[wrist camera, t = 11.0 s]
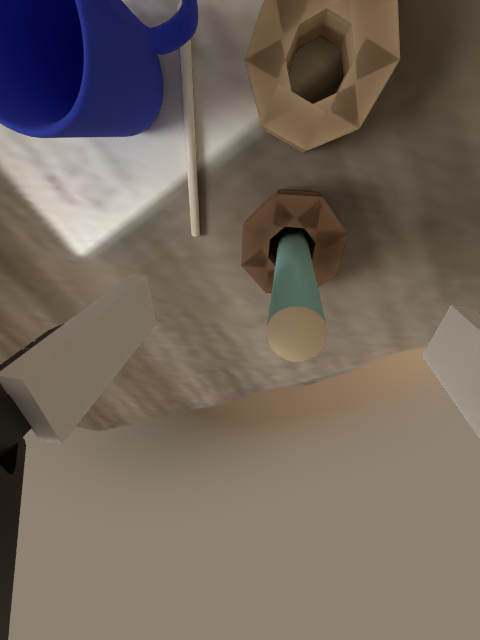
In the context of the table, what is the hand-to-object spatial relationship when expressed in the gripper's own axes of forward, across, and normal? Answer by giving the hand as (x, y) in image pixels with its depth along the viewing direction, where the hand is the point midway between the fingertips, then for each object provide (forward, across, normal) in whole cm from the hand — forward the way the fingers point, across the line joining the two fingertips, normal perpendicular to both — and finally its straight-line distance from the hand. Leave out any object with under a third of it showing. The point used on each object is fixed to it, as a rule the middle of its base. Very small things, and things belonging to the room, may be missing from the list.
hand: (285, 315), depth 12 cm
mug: (+14, -12, +11) cm, 22 cm away
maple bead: (+14, +1, +11) cm, 18 cm away
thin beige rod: (+14, -8, +7) cm, 18 cm away
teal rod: (+14, +1, 0) cm, 14 cm away
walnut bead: (+14, +1, 0) cm, 14 cm away
